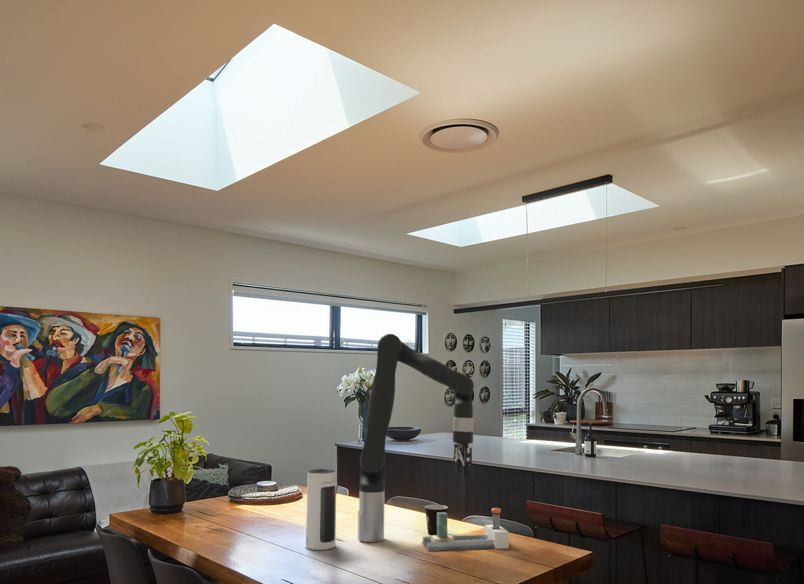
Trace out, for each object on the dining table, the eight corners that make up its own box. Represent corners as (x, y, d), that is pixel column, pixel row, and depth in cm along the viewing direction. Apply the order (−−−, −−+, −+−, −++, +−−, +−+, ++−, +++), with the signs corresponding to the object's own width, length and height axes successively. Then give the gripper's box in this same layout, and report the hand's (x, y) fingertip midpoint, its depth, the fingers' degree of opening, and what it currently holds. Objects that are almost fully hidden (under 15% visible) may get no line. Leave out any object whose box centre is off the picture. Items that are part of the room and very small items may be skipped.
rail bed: (428, 551, 210) (428, 543, 210) (422, 543, 220) (422, 536, 220) (504, 548, 215) (504, 540, 216) (494, 540, 225) (494, 533, 225)
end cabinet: (495, 548, 214) (494, 532, 215) (484, 540, 225) (484, 525, 225) (508, 548, 215) (508, 531, 216) (497, 540, 226) (497, 524, 226)
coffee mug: (446, 537, 229) (446, 509, 230) (423, 536, 230) (423, 508, 232) (450, 530, 240) (450, 503, 241) (428, 529, 242) (428, 502, 243)
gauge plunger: (493, 536, 218) (493, 509, 220) (490, 534, 221) (490, 508, 223) (502, 536, 219) (501, 509, 220) (499, 534, 222) (498, 507, 223)
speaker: (310, 552, 208) (312, 472, 212) (300, 544, 217) (303, 468, 221) (339, 548, 213) (341, 470, 216) (329, 541, 222) (330, 466, 226)
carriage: (434, 545, 213) (434, 515, 214) (430, 541, 218) (430, 511, 220) (453, 544, 214) (453, 514, 216) (449, 540, 219) (449, 511, 221)
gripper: (447, 428, 236) (446, 471, 234) (459, 431, 222) (458, 477, 220) (466, 428, 238) (465, 471, 235) (479, 431, 224) (478, 477, 222)
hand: (462, 474), depth 228 cm, fingers open, 8 cm apart
